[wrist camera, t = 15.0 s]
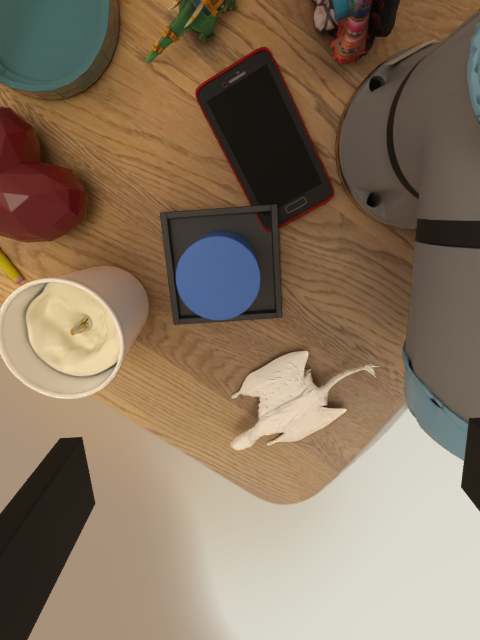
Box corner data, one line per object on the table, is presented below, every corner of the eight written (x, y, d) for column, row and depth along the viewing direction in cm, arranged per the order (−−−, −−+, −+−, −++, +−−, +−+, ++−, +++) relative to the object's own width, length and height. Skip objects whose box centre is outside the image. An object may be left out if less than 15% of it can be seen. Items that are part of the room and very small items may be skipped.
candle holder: (45, 303, 42) (-31, 341, 30) (104, 237, 40) (46, 250, 28) (116, 364, 43) (70, 422, 32) (176, 304, 41) (149, 342, 30)
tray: (276, 204, 38) (277, 203, 37) (280, 313, 42) (282, 317, 40) (163, 212, 39) (159, 212, 37) (176, 320, 42) (173, 324, 40)
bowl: (106, -91, 32) (93, -120, 29) (131, 94, 36) (121, 84, 33) (-55, -75, 33) (-84, -103, 30) (-14, 106, 36) (-36, 98, 33)
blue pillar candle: (255, 227, 39) (258, 233, 31) (259, 296, 41) (262, 317, 33) (185, 232, 39) (170, 239, 31) (192, 301, 41) (180, 323, 33)
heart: (40, 272, 40) (111, 207, 39) (0, 277, 32) (88, 197, 32) (-53, 177, 38) (22, 107, 37) (-119, 159, 30) (-27, 70, 29)
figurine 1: (265, -17, 33) (272, -85, 26) (171, 94, 36) (150, 63, 28) (240, -48, 33) (238, -128, 25) (146, 67, 35) (117, 27, 27)
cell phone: (266, 235, 40) (266, 235, 39) (192, 92, 36) (191, 89, 35) (335, 196, 39) (337, 196, 38) (266, 46, 35) (267, 41, 34)
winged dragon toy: (345, 313, 41) (355, 324, 38) (390, 385, 44) (405, 403, 40) (207, 398, 44) (203, 417, 40) (256, 462, 47) (257, 486, 43)
